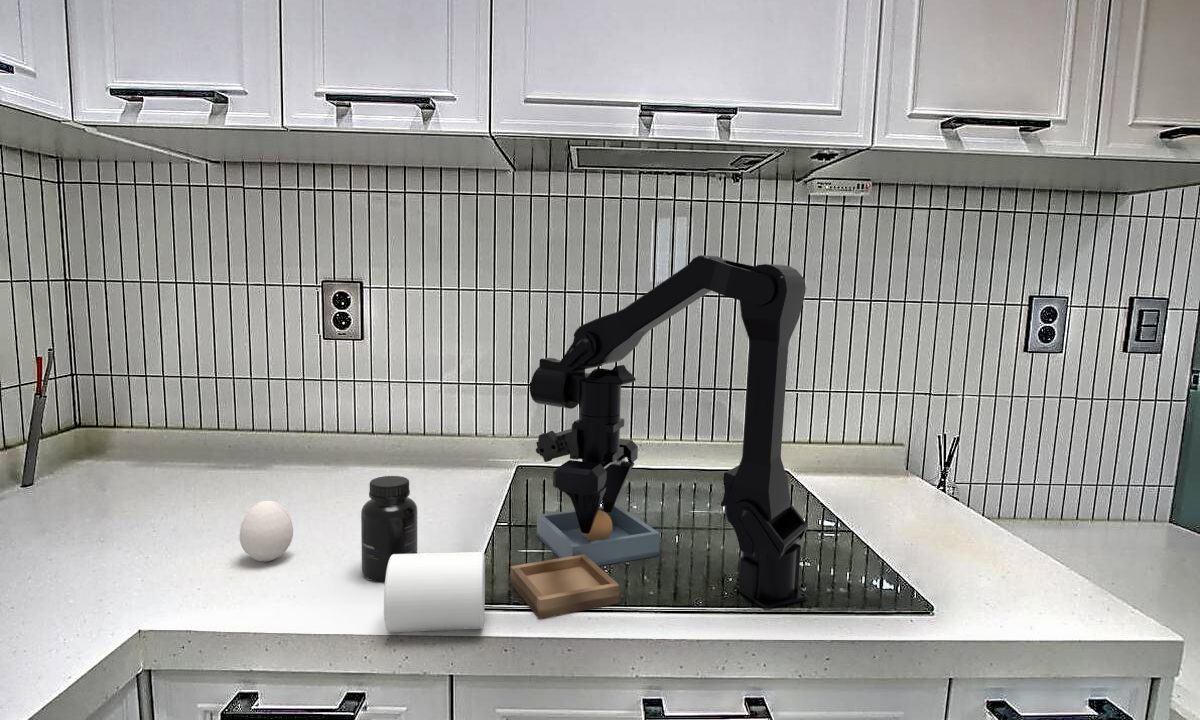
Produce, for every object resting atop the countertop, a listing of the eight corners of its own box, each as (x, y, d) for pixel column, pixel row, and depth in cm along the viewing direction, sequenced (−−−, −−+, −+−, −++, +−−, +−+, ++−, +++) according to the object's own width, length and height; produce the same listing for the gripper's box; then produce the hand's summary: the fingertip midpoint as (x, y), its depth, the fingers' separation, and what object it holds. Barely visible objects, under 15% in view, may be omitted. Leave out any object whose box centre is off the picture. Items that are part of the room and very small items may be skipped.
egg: (284, 546, 99) (282, 490, 98) (301, 561, 94) (299, 502, 93) (234, 558, 95) (231, 500, 94) (249, 574, 90) (247, 513, 89)
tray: (584, 570, 93) (584, 554, 93) (619, 603, 85) (619, 585, 84) (510, 583, 89) (510, 566, 89) (539, 619, 80) (539, 600, 80)
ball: (603, 534, 105) (604, 504, 104) (617, 544, 101) (618, 513, 100) (575, 538, 103) (575, 507, 102) (588, 549, 99) (589, 517, 98)
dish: (616, 524, 110) (617, 504, 110) (659, 555, 99) (659, 533, 98) (536, 536, 105) (537, 515, 104) (572, 570, 93) (572, 547, 93)
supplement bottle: (352, 581, 89) (349, 486, 87) (376, 559, 95) (374, 471, 94) (405, 585, 88) (404, 490, 86) (426, 563, 95) (425, 474, 93)
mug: (482, 642, 75) (482, 569, 74) (383, 647, 74) (382, 572, 73) (486, 591, 87) (486, 528, 86) (401, 594, 86) (400, 529, 85)
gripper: (570, 397, 111) (568, 495, 113) (516, 420, 93) (515, 536, 95) (640, 403, 107) (637, 505, 109) (597, 428, 90) (595, 549, 92)
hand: (597, 522), depth 101 cm, fingers open, 9 cm apart
